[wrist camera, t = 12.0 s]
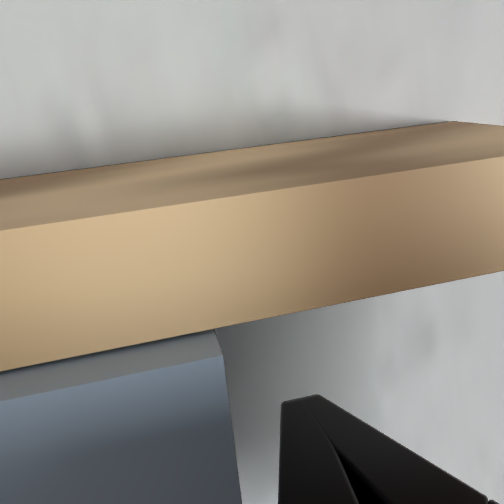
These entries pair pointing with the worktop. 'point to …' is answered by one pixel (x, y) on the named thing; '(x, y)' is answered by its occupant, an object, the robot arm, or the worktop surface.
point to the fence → (242, 235)
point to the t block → (120, 427)
